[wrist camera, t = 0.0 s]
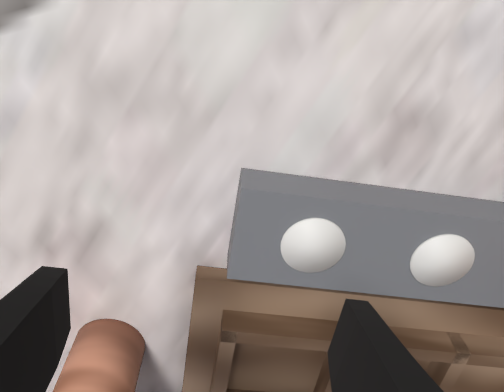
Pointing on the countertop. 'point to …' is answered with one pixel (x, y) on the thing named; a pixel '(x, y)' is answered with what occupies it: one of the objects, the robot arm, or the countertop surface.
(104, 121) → the countertop surface
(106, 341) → the wooden peg
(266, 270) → the stand
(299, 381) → the board
